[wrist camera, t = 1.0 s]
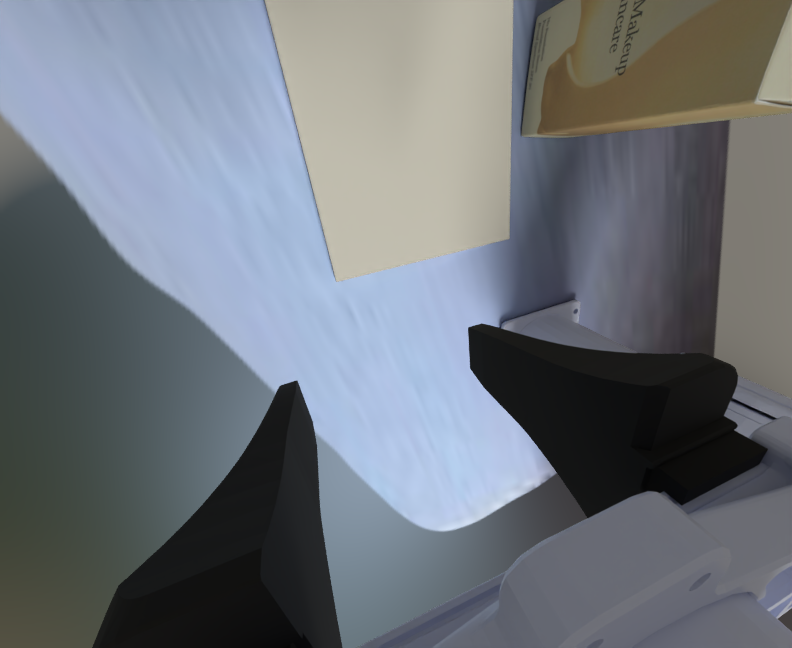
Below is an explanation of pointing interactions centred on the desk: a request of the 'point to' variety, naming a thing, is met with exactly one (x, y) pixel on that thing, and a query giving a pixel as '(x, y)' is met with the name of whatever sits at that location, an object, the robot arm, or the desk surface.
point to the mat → (401, 123)
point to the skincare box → (656, 65)
